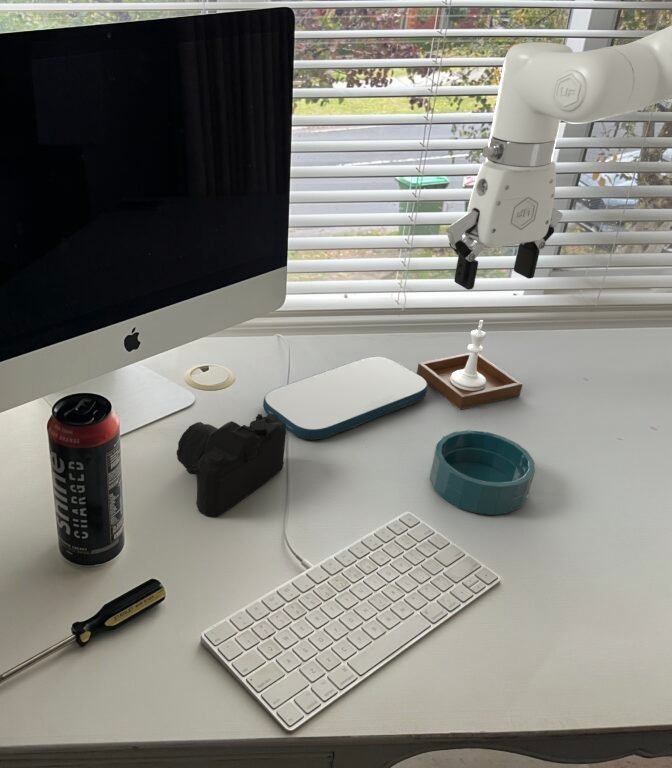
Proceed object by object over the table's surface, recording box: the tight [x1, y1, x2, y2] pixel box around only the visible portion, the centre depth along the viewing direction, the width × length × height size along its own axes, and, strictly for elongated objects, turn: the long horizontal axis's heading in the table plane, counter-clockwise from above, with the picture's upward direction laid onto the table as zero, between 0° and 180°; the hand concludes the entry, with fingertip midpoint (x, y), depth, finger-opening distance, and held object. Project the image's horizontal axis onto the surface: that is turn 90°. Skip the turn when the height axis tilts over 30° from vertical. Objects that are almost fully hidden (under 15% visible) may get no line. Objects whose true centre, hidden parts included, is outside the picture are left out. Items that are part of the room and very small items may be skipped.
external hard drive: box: [262, 356, 429, 440], centre depth 112 cm, size 24×12×2 cm, turn 121°
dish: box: [429, 429, 536, 516], centre depth 95 cm, size 11×11×4 cm
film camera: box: [176, 413, 288, 518], centre depth 95 cm, size 15×10×9 cm, turn 135°
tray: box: [416, 351, 524, 410], centre depth 115 cm, size 10×10×2 cm
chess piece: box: [450, 319, 487, 391], centre depth 113 cm, size 5×5×10 cm
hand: (493, 280), depth 107 cm, fingers open, 9 cm apart
